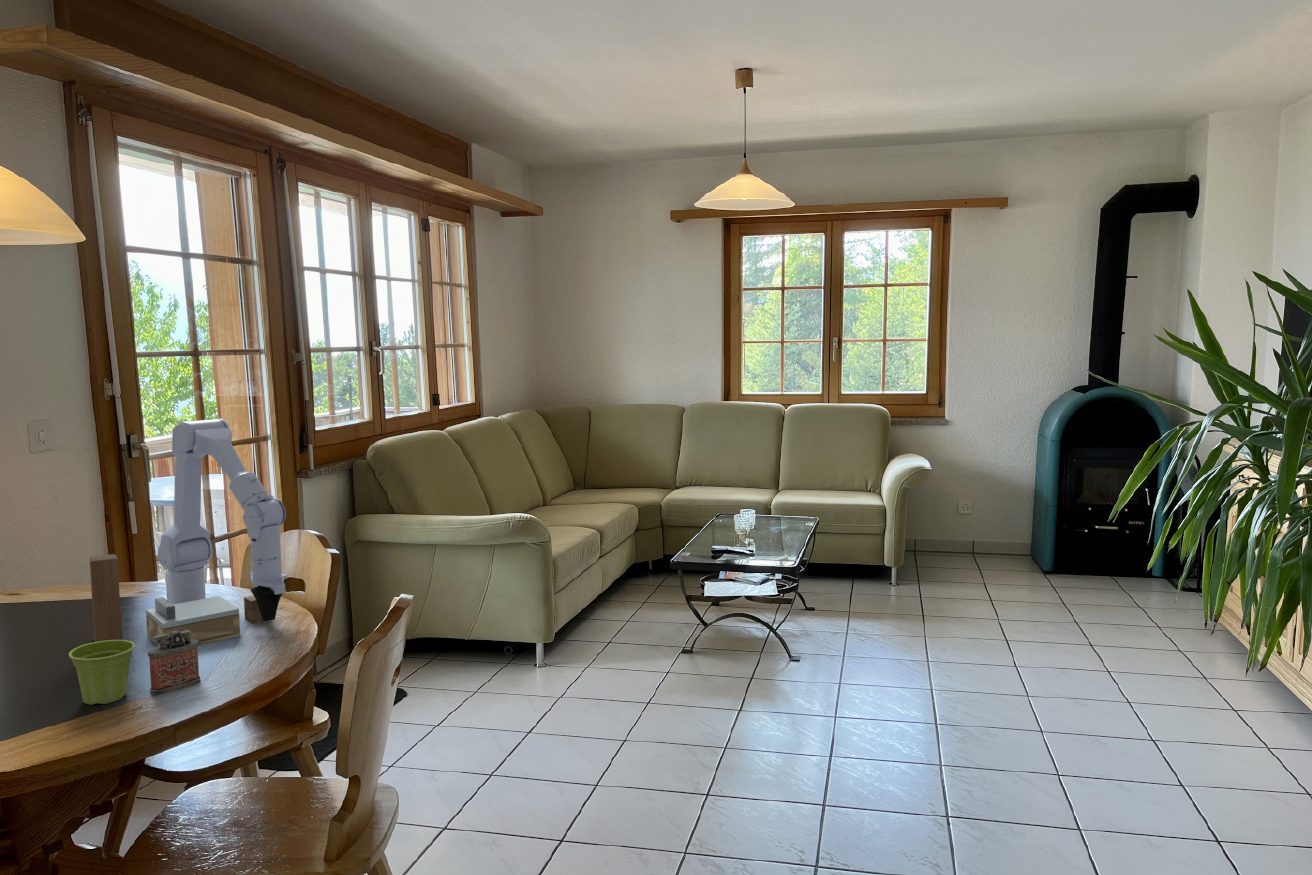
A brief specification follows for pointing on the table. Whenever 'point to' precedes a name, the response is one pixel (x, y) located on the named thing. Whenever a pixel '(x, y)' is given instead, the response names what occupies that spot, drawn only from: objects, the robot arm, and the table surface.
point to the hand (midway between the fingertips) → (268, 619)
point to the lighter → (173, 663)
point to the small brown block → (252, 610)
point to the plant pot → (102, 669)
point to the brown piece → (201, 629)
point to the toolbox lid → (189, 611)
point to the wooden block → (105, 598)
